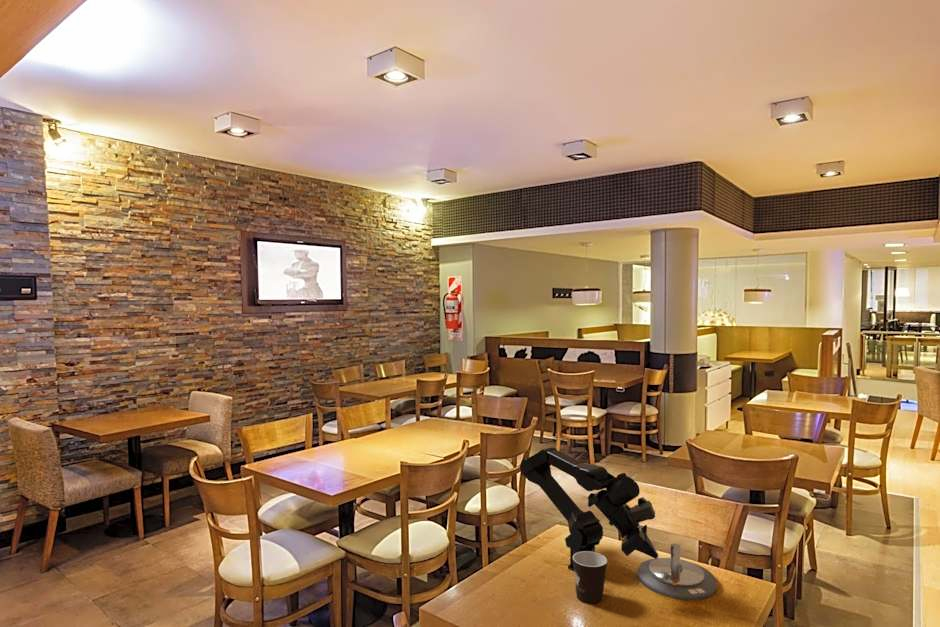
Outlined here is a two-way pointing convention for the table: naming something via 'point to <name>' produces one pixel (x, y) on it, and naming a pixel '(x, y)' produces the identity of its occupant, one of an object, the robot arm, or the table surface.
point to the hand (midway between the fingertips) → (657, 557)
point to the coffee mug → (589, 576)
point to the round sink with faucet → (676, 570)
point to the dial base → (673, 591)
